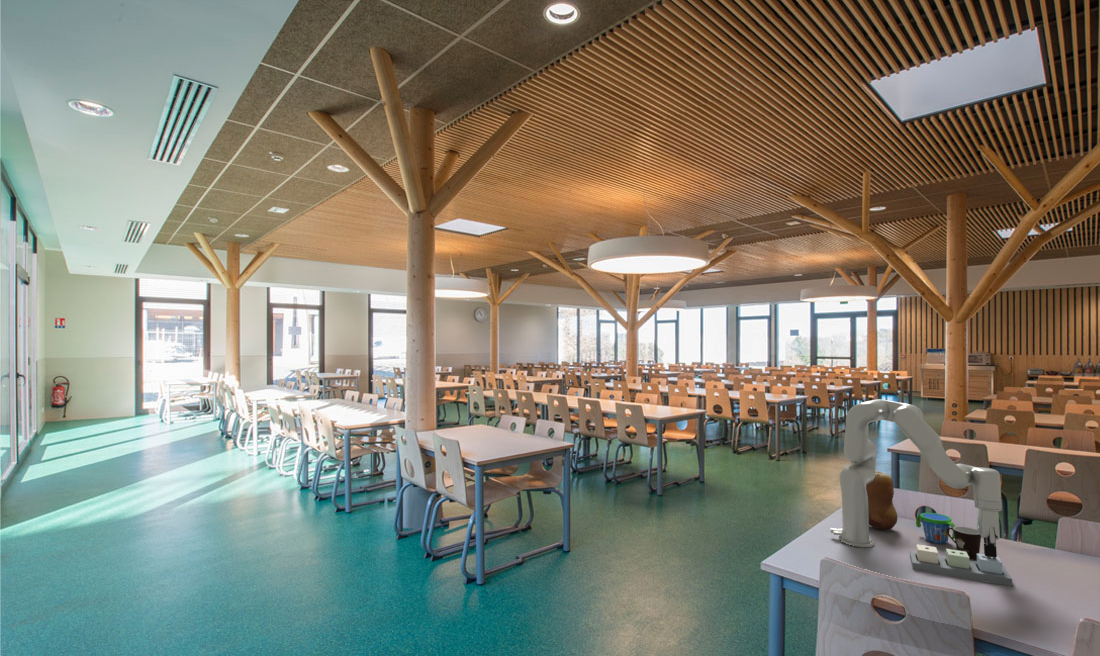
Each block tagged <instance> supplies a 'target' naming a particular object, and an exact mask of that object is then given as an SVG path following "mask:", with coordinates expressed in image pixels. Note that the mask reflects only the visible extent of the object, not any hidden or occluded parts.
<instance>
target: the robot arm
mask: <svg viewBox="0 0 1100 656" xmlns="http://www.w3.org/2000/svg"><path fill="white" fill-rule="evenodd" d="M879 421H886V422H892V423H894V424H895V425H896V426H897V427H898V429H900V431H901V432H902V433H903V434H904V435H905V436H906V437H907V438H908V439H909V440H910V441H911V442H912V443H913V445H915V447H916V448H917V449H918V451H919V452H920V455H921V456H922V457H923V459H924V460H925V462H926V463H927V465H928V466H929V468H930V469H931V470H932V471H933V473H934V474H936V475H937V477H939V479H940V480H941V481H942V482H943V483H944V484H945V485H947V486H948V487H950V488H953V489H956V490H960V489H965V488H966V487H968V486H970V485H971V486H972V487H973V501H974V503H973V505H974V508H976V530H977V531H978V532H979V534H980V535H981V539H982V538H983V542H984V543H983V554H985V556H986V557H994V558H996V557H997V556H998V554H997V553H998V552H997V540H999V539H1000V537H1001V536H1000V535H1001V534H1000V521H999V520H1000V519H999V512H1001V511H1002V510H1003V506H1002V505H1003V504H1002V492H1001V491H1002V490H1001V489H1002V488H1001V474H1000V472H999V471H998V470H997V469H994V468H989V467H977V466H974V465H973V466H972V465H969V464H965V463H955V462H954V460H952V458H951V457H950V456H949V454H947V452H946V449H944V446H943V442H942V439H941V437H940V435H939V434H938V433H937V432H936V431H935V430H934V429H933V428H932V427H931V426H930V425H929V424H928V423H927V422H926V420H924V414H923V411H922V410H921V408H920V407H918V406H916V405H914V404H909V403H905V402H897V401H891V400H887V399H880V398H877V399H872V400H867V401H863V402H860V403H858V404H854V405H853V406H852V407H851V408H850V409H849V410H848V412H847V414H846V416H845V428H844V429H845V431H844V443H843V454H844V458H846V460H847V461H849V462H850V464H849V465H847V466H845V467H844V468H842V469H841V471H840V474H839V486H840V490H841V492H840V493H841V512H842V514H841V516H842V517H841V518H842V527H841V528H838V529H837V528H832V527H831V528H830V533H831V534H833V535H835V536H838V540H839V541H840V540H841V541H842V542H844V543H847V544H850V545H854V546H859V547H858V548H872V547H873V546H874V544H875V542H874V540H873V539H872V538H870V525H869V513H868V496H867V491H866V485H868V484H870V483H871V482H872V481H873V480H874V477H875V471H876V466H877V463H876V462H877V461H876V460H877V448H876V445H875V444H874V442H873V441H872V440H871V439H870V438H869V437H870V436H869V433H870V432H869V431H870V429H869V424H870V423H874V422H879ZM841 541H840V542H841ZM842 542H841V543H842ZM844 543H843V544H844ZM847 544H846V545H847ZM850 545H849V546H850ZM854 546H853V547H854Z"/></svg>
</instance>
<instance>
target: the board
mask: <svg viewBox="0 0 1100 656" xmlns="http://www.w3.org/2000/svg"><path fill="white" fill-rule="evenodd" d="M909 558H910V559H909V560H910V563H911V566H912V570H915V571H921V572H927V573H932V574H939V575H944V576H951V577H956V578H963V579H967V580H975V581H979V582H986V583H991V584H999V585H1003V586H1008V587H1010V586H1011V587H1013V578H1012V576H1011V574H1010V573H1009V572H1008V570H1007V569H1006V566H1005V565H1002V574H997V573H991V572H985V571H980V569H979V567H978V565H977V560H970V559H969V562H970V569H966V568H960V567H954V566H949V565H948V563H947V560H946V556H944V555H943V556H942V555H938V564H936V563H929V562H923V561H918V557H917V551H911V550H910V551H909Z"/></svg>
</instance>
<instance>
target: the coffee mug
mask: <svg viewBox="0 0 1100 656" xmlns="http://www.w3.org/2000/svg"><path fill="white" fill-rule="evenodd" d="M950 530H953V531H954V536H955V539H953V538H952V535H951V534H950ZM953 531H952V532H953ZM947 534H948V535H949V537H948V538H950V540H951V541H952V542H954V544H955V546H956V547H955V548H956V550H958V551H965V552H967V554H968V556H969V560H970V561H977V553H978V554H980V549H981V540H982V537H981V535H980V534H979V532H978V531H977V528H972V527H968V526H959V525H958V526H955V527H954V528H951V527H950V528H948V529H947Z"/></svg>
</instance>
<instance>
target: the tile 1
mask: <svg viewBox="0 0 1100 656" xmlns="http://www.w3.org/2000/svg"><path fill="white" fill-rule="evenodd" d="M916 552H917V557H918V561H923V562H929V563H936V564H938V556H939V552H938V550H937V546H936V547H935V546H930V545H923V544H918V543H917V544H916Z"/></svg>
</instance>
